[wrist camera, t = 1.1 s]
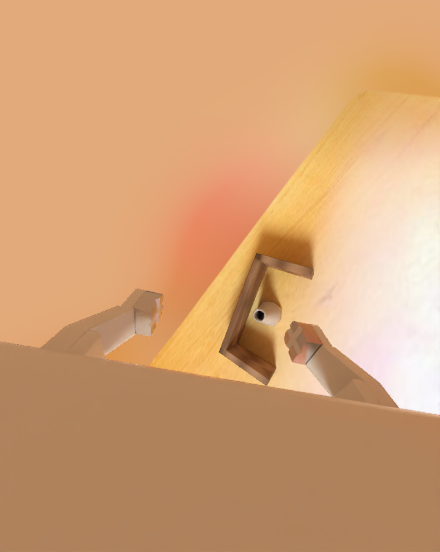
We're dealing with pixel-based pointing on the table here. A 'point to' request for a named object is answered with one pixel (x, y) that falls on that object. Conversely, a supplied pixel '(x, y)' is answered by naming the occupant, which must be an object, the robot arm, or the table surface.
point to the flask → (268, 313)
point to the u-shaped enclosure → (247, 297)
